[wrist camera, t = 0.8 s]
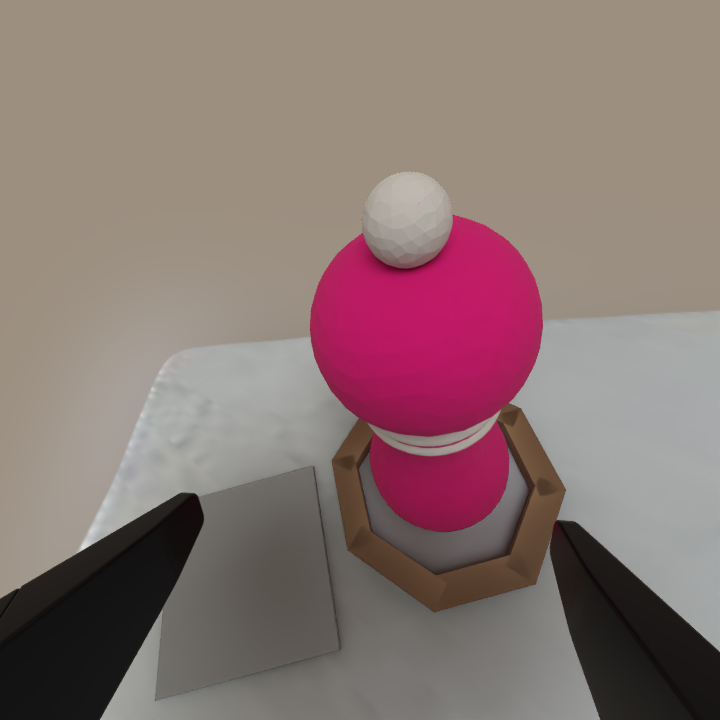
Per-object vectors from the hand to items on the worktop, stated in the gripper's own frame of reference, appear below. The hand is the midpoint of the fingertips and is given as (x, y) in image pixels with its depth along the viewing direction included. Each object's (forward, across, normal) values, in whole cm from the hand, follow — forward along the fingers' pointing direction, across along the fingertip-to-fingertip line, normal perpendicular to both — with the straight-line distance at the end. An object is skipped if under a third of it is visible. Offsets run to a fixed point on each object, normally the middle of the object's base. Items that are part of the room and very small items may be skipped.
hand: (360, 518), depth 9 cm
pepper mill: (+12, -3, +9) cm, 15 cm away
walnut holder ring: (+12, -3, +9) cm, 15 cm away
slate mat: (+7, +9, +12) cm, 17 cm away
